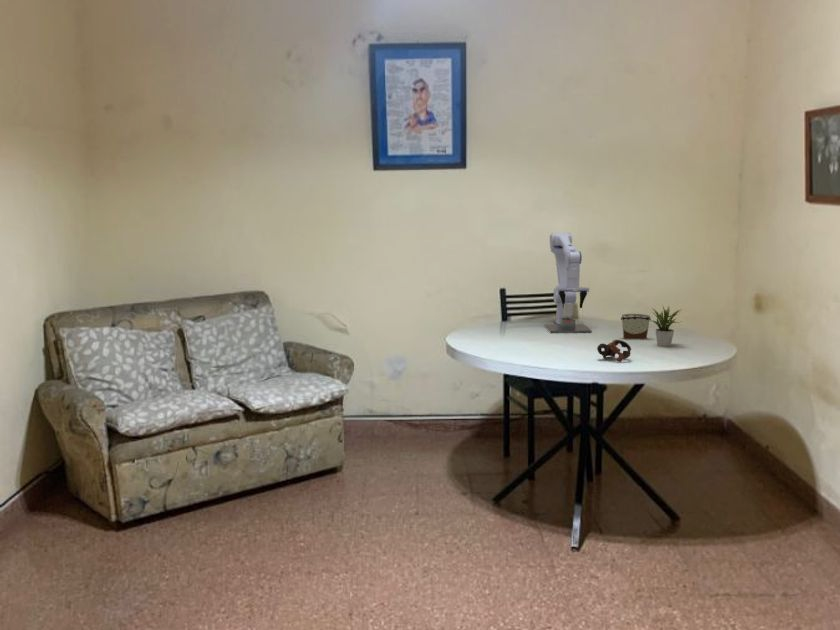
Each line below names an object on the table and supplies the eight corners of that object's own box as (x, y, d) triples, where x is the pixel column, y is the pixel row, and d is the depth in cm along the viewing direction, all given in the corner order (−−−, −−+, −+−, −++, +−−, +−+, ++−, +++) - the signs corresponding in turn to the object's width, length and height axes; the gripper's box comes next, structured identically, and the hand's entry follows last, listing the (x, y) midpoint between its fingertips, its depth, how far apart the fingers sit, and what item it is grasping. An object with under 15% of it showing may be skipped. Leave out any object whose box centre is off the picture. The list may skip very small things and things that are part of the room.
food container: (647, 336, 318) (648, 313, 316) (650, 339, 312) (651, 315, 310) (617, 336, 319) (618, 313, 317) (620, 339, 313) (620, 315, 311)
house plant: (689, 349, 290) (691, 307, 287) (653, 349, 291) (654, 307, 288) (679, 342, 304) (680, 302, 301) (644, 342, 305) (646, 303, 302)
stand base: (544, 326, 346) (544, 314, 345) (583, 326, 346) (583, 314, 345) (550, 333, 328) (550, 320, 328) (591, 332, 328) (591, 320, 327)
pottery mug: (620, 357, 280) (630, 340, 275) (626, 373, 272) (636, 356, 267) (591, 350, 278) (600, 333, 273) (596, 366, 270) (605, 348, 265)
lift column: (563, 321, 338) (563, 303, 337) (570, 321, 338) (570, 303, 337) (564, 322, 335) (564, 304, 334) (571, 322, 335) (572, 304, 334)
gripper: (558, 279, 334) (557, 309, 336) (590, 278, 334) (590, 308, 336) (555, 277, 341) (555, 306, 343) (587, 277, 340) (587, 306, 343)
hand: (572, 307), depth 340 cm, fingers open, 7 cm apart
